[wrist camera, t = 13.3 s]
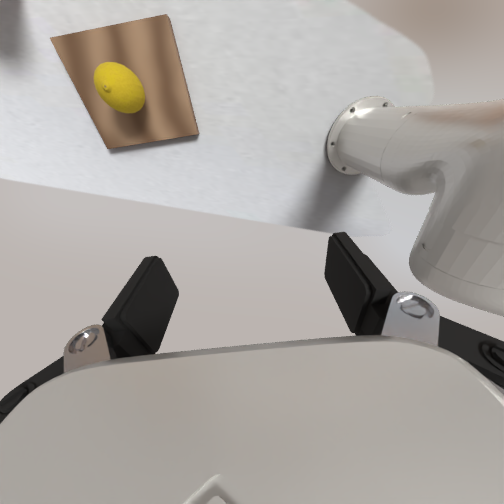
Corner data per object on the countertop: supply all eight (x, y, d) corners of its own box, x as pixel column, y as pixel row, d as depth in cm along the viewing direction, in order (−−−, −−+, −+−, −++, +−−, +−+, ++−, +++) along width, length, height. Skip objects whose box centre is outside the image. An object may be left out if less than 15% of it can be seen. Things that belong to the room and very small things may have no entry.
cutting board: (169, 18, 27) (166, 14, 26) (199, 133, 35) (197, 134, 34) (58, 41, 28) (49, 37, 27) (112, 147, 36) (107, 149, 35)
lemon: (134, 119, 32) (106, 121, 26) (107, 79, 29) (69, 70, 23) (160, 103, 31) (138, 101, 25) (135, 60, 28) (103, 44, 22)
